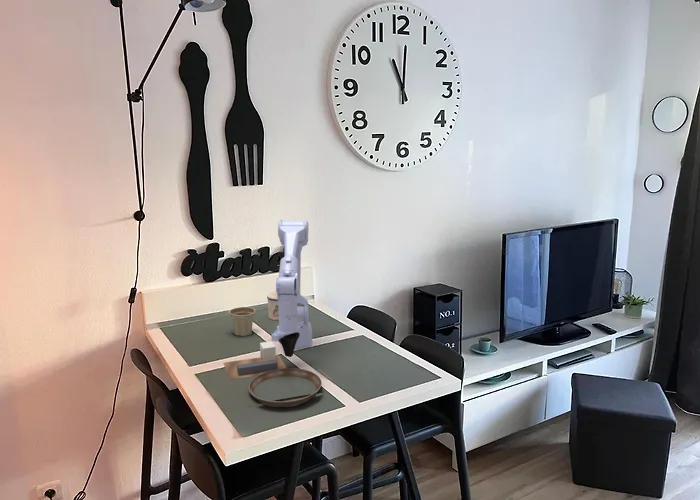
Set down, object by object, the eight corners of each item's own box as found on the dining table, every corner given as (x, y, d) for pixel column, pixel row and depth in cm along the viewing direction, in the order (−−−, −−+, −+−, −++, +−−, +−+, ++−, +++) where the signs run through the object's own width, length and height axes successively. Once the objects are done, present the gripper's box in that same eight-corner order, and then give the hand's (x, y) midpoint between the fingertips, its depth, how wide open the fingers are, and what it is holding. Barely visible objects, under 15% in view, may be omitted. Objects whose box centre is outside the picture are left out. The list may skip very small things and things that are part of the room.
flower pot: (261, 331, 207) (260, 309, 205) (244, 339, 199) (243, 316, 197) (242, 327, 212) (241, 305, 210) (224, 334, 204) (223, 312, 202)
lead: (275, 366, 175) (275, 359, 174) (277, 369, 173) (277, 362, 172) (237, 372, 171) (236, 365, 170) (238, 375, 169) (238, 368, 168)
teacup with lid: (272, 322, 217) (271, 293, 214) (264, 315, 225) (263, 287, 222) (300, 317, 222) (300, 289, 220) (292, 310, 230) (291, 283, 228)
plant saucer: (259, 418, 147) (259, 406, 146) (241, 385, 165) (241, 375, 165) (332, 403, 155) (332, 392, 154) (307, 373, 173) (307, 363, 173)
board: (278, 357, 184) (278, 354, 184) (288, 373, 172) (288, 370, 172) (223, 365, 178) (223, 362, 178) (229, 382, 166) (229, 379, 166)
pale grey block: (272, 355, 183) (272, 341, 182) (275, 361, 179) (275, 346, 178) (260, 357, 182) (259, 342, 181) (263, 363, 177) (263, 348, 176)
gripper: (291, 305, 180) (292, 345, 182) (262, 318, 167) (264, 361, 170) (309, 309, 176) (310, 349, 179) (281, 322, 164) (282, 366, 167)
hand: (288, 355), depth 174 cm, fingers closed
